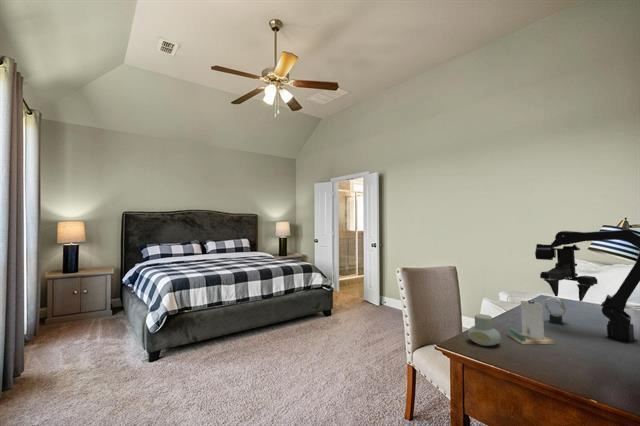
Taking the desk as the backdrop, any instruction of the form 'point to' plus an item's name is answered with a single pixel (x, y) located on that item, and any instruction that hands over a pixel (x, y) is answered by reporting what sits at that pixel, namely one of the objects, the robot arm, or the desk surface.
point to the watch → (556, 317)
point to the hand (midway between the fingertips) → (568, 298)
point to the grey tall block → (532, 319)
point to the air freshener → (484, 331)
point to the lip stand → (524, 340)
